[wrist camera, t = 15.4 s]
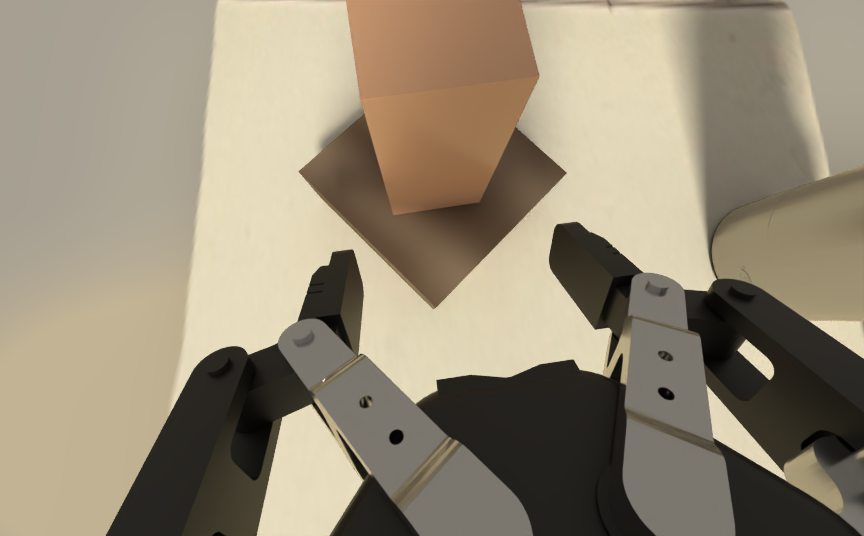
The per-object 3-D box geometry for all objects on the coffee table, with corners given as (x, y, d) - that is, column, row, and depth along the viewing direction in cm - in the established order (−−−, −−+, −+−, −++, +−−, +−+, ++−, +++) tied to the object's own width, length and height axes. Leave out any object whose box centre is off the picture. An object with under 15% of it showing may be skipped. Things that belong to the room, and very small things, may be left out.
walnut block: (431, 104, 26) (433, 54, 21) (537, 201, 25) (566, 173, 20) (323, 201, 24) (298, 171, 19) (433, 309, 23) (436, 307, 18)
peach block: (463, 124, 20) (503, -67, 10) (479, 202, 19) (539, 76, 9) (381, 135, 20) (338, -50, 10) (393, 215, 19) (360, 99, 9)
